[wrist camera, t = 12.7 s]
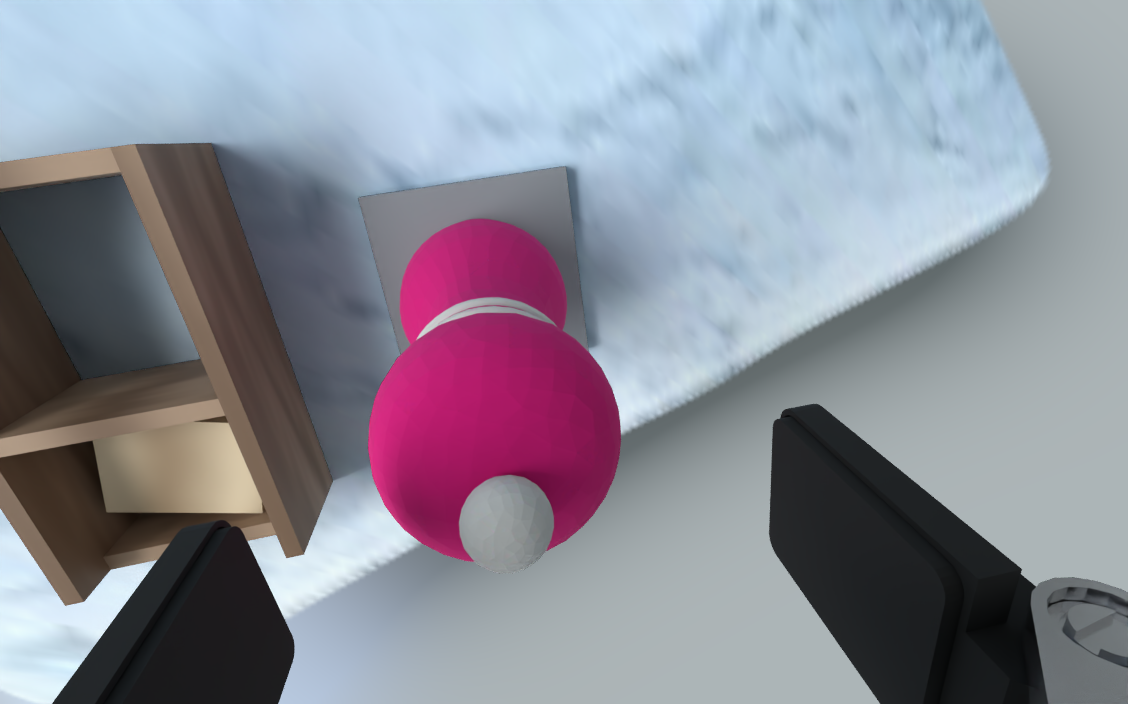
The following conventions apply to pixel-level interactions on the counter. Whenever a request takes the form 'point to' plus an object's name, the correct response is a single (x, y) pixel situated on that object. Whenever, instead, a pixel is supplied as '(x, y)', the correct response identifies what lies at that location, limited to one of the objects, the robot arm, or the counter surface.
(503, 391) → the pepper mill
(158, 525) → the box
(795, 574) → the robot arm
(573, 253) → the mat
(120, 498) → the upper offcut
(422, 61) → the counter surface
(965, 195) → the counter surface
